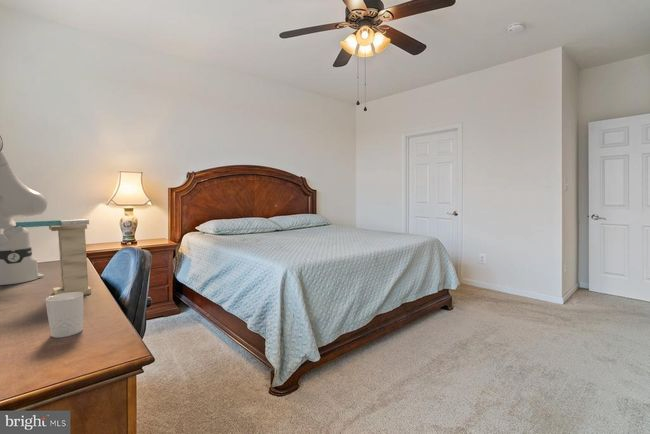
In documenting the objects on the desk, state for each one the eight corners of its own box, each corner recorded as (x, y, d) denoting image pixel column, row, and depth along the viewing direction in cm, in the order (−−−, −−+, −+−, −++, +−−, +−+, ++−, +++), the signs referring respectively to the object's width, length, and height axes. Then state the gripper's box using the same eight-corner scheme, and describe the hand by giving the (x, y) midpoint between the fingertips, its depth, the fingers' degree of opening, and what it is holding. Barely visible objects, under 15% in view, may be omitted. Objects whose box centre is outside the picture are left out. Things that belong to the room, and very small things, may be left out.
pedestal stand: (53, 292, 124) (48, 224, 122) (85, 287, 131) (81, 222, 129) (56, 299, 116) (51, 226, 114) (91, 293, 123) (86, 224, 121)
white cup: (92, 328, 90) (90, 293, 89) (61, 340, 83) (58, 302, 82) (72, 325, 93) (70, 290, 92) (40, 336, 85) (38, 299, 85)
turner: (16, 228, 109) (15, 223, 109) (15, 226, 115) (15, 221, 115) (89, 224, 123) (88, 219, 123) (85, 223, 129) (85, 218, 129)
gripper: (-39, 246, 96) (15, 220, 104) (-33, 239, 111) (14, 217, 119) (-22, 263, 99) (29, 236, 107) (-18, 254, 114) (27, 231, 121)
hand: (21, 226), depth 113 cm, fingers open, 8 cm apart
